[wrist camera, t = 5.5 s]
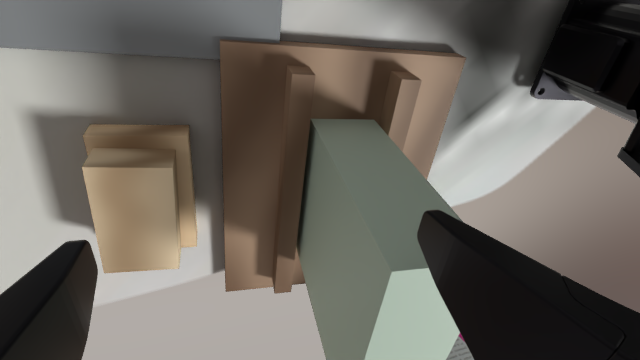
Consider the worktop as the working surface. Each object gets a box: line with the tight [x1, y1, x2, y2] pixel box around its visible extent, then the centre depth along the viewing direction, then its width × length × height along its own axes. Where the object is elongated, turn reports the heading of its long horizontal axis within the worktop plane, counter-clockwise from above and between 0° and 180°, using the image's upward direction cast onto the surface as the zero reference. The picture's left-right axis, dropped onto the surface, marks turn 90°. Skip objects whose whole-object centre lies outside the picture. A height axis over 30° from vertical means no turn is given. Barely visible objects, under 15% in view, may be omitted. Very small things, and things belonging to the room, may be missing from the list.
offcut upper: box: [82, 148, 181, 273], centre depth 21 cm, size 4×7×2 cm, turn 171°
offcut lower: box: [83, 124, 197, 248], centre depth 22 cm, size 5×8×2 cm, turn 173°
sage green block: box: [296, 119, 463, 360], centre depth 20 cm, size 4×10×12 cm, turn 173°
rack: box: [220, 39, 466, 293], centre depth 24 cm, size 14×18×2 cm
